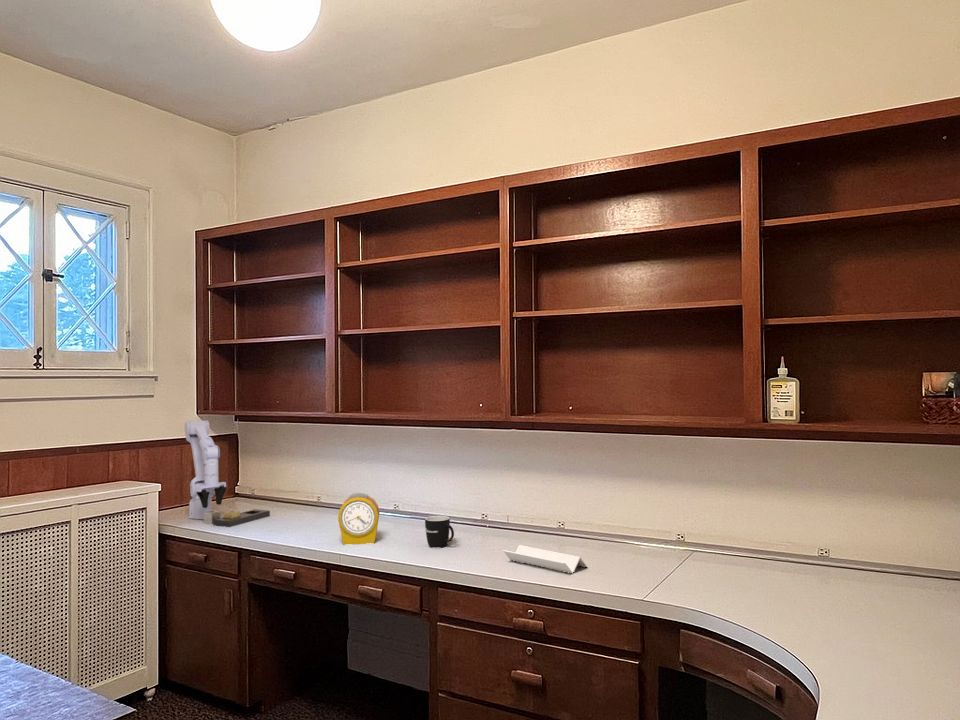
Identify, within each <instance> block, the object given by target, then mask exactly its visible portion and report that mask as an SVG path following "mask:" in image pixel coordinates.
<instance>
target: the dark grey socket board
mask: <svg viewBox="0 0 960 720" xmlns="http://www.w3.org/2000/svg"><path fill="white" fill-rule="evenodd" d="M267 517H271V510H266V509H257V508H256V509H255V508H253V509H250V510H246V511H242V512H240V518H236V519H232V520H231V519H224V516H222V517H220V518H218V519H214V520H213V523H214V524H213V526H215V525H216V526H217V527H224V526H225V527H226V528H231V527H234V526H238V525H241V524H246V523H249V522H253V521H256V520H261V519H264V518H267ZM216 526H215V527H216ZM225 527H224V528H225Z"/></svg>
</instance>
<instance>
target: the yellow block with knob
mask: <svg viewBox="0 0 960 720" xmlns="http://www.w3.org/2000/svg"><path fill="white" fill-rule="evenodd" d="M240 513H241V511H239V510H229V511H224V512H223V517H224V519H231V520H232V519H236V518H240Z"/></svg>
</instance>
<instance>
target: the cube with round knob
mask: <svg viewBox="0 0 960 720" xmlns="http://www.w3.org/2000/svg"><path fill="white" fill-rule="evenodd" d="M218 518H221V511H219V510H213V509H212V511H208V512H204V519H203V520H204V521H203V523H204V525H210V524H213V525H214V523H213V520H214V519H218Z"/></svg>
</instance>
